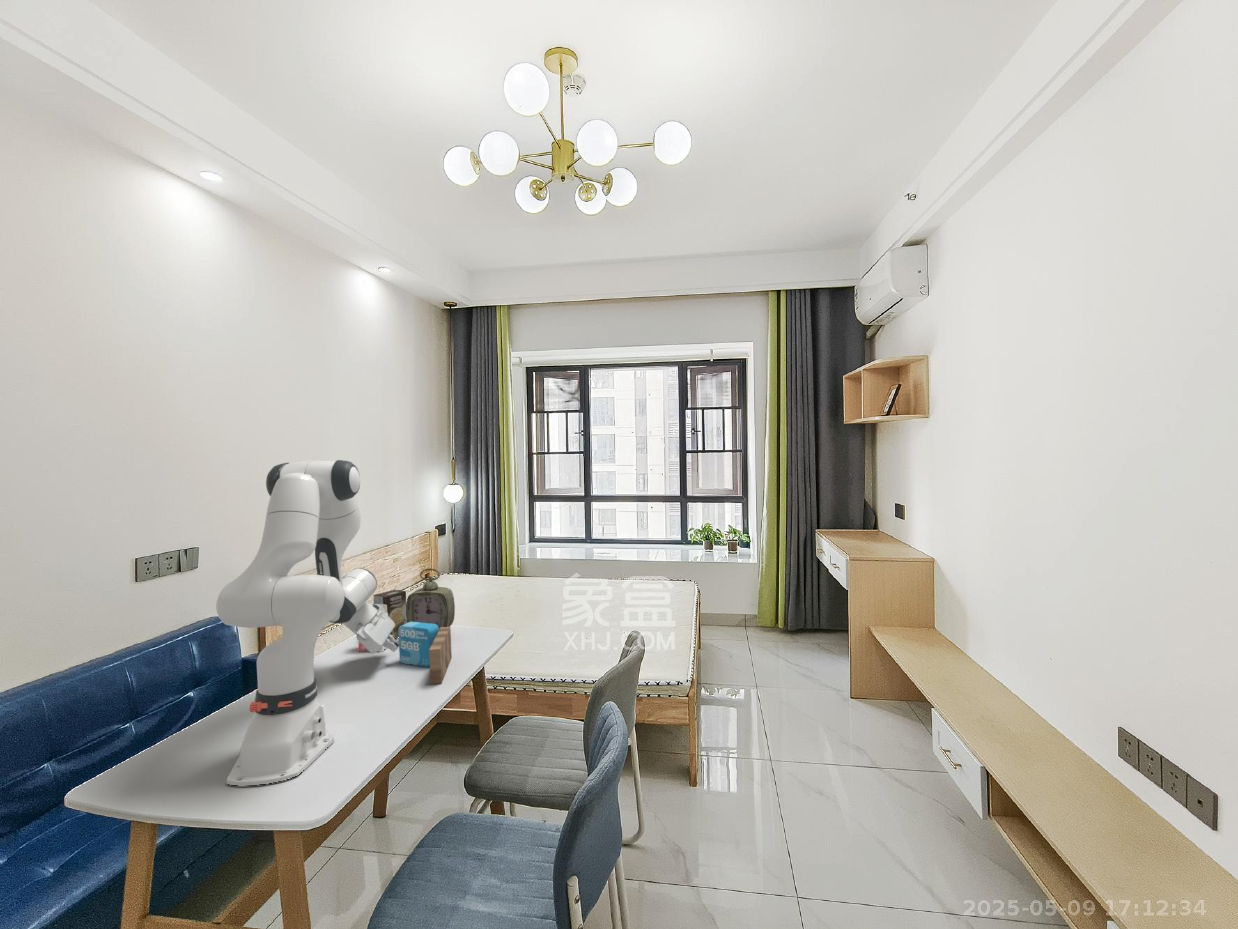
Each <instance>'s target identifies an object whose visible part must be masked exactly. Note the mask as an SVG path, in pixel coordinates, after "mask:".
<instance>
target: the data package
mask: <svg viewBox="0 0 1238 929" xmlns="http://www.w3.org/2000/svg"><path fill="white" fill-rule="evenodd" d="M438 632H439V628H438V626H437V625H436V624H430V623H420V622H409V623H406V624H404V625H402V626H400V627H399V629H398V633H399V638H398V644H399V647H398V649H399V650H398V651H399V653H398V654H399V661H400V662H401V664H403V663H404V664H405V665H410V664H413V665H412V666H418V665H419V666H418V667H425V668H426V667H427V668H428V667H429V668H430V656H429V649H430V647H431V645H432V643H433V641H434V639H435V638H436V636H437V634H438ZM414 664H415V665H414Z"/></svg>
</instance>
